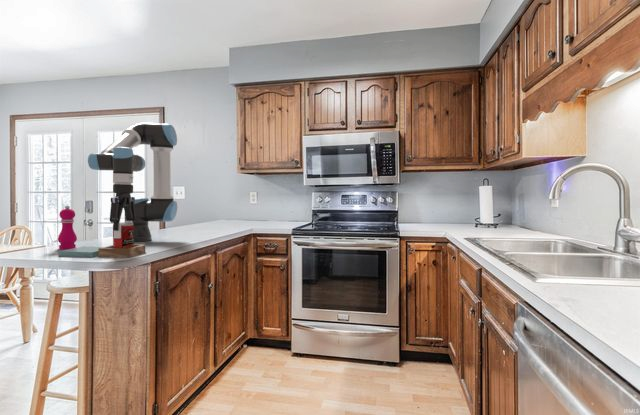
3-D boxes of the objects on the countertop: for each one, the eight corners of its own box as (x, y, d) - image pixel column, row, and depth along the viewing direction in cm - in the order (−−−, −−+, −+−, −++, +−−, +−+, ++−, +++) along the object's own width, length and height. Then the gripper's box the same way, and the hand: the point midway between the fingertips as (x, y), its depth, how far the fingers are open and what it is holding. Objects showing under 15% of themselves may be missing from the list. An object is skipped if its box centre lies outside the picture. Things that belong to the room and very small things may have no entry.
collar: (117, 251, 158) (117, 243, 158) (145, 252, 158) (145, 244, 158) (98, 256, 145) (98, 248, 145) (128, 257, 145) (128, 249, 145)
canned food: (124, 250, 147) (124, 224, 147) (108, 249, 149) (108, 223, 148) (137, 248, 155) (137, 223, 154) (122, 247, 157) (122, 222, 156)
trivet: (82, 250, 158) (82, 246, 158) (113, 251, 158) (113, 247, 158) (58, 256, 144) (58, 251, 144) (92, 257, 144) (92, 252, 144)
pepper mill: (75, 246, 169) (75, 205, 168) (78, 248, 164) (78, 205, 163) (56, 248, 164) (56, 205, 163) (59, 250, 159) (59, 205, 158)
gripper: (117, 183, 140) (117, 240, 141) (144, 184, 161) (144, 234, 162) (98, 183, 140) (99, 240, 142) (128, 184, 161) (128, 233, 162)
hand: (123, 236), depth 152 cm, fingers closed on canned food, 8 cm apart
